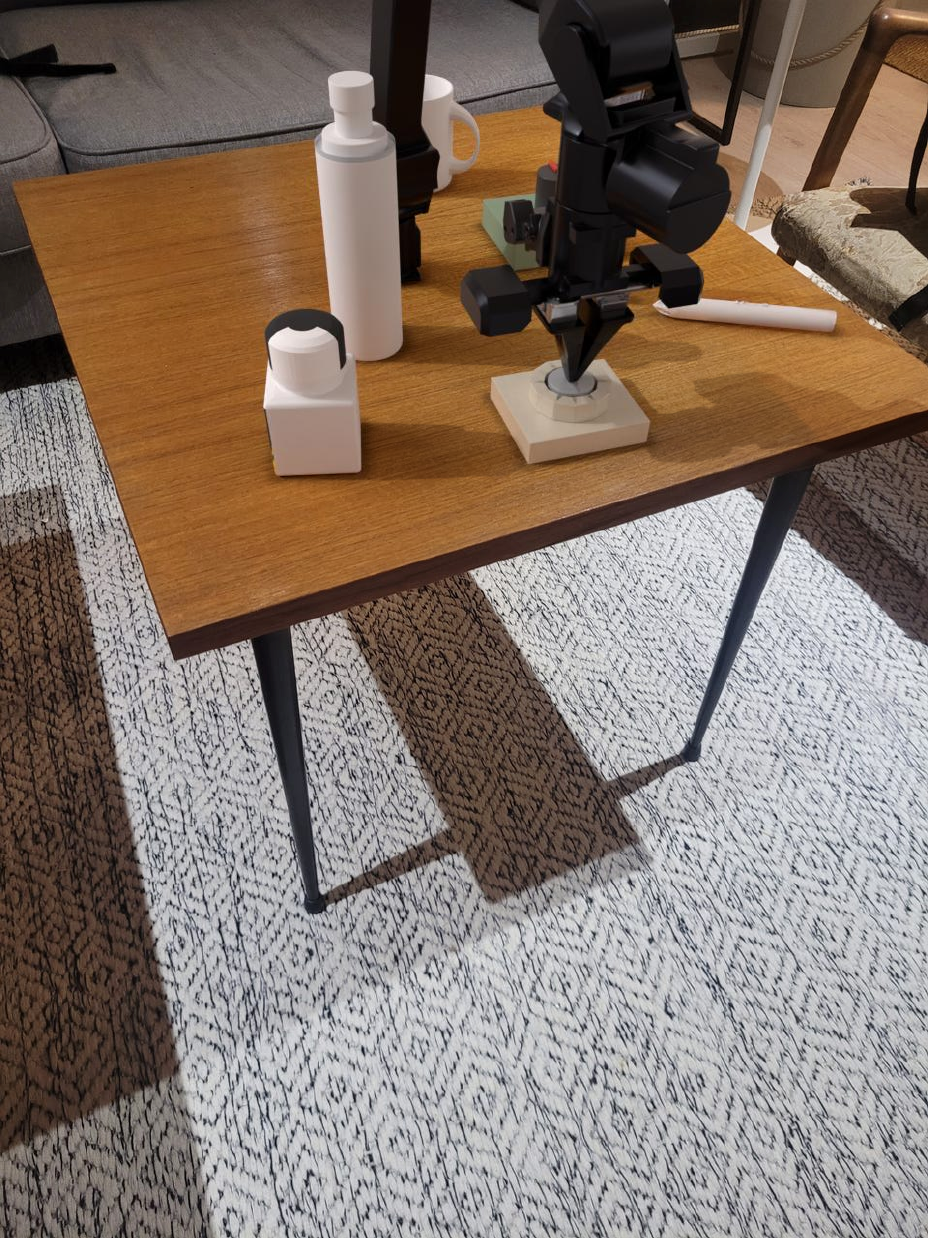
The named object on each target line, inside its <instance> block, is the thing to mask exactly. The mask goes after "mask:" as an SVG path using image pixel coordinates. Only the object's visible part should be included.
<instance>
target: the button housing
mask: <svg viewBox="0 0 928 1238" xmlns="http://www.w3.org/2000/svg"><path fill="white" fill-rule="evenodd" d="M559 368H562V363H561V359H554V360H549V361H545V362H544V363H542V364H541V365H539V366H537V367H536V368H534V369H533V370H528V371H523V372H521V371H520V372H516V373H510V374H504V375H498V376H492V377H491V379H490V399H491V402H492V403H493V405H494V407H495V408H496V410H497V412H498V414H499V416H500V417H501V419H502V421H503V422H504V424H505V426H506V428H507V429H508V432H509V433H510V435H511V437H512V439H513V440H514V441H515V443H516V446H517V447H518V449H519V451H520V452H521V454H522V456H523V457H524V460H525V461H526V463H527V465H531V464H537V463H538V464H539V463H543V462H548V461H552V460H553V461H554V460H557V459H558V460H559V459H564V458H570V457H574V456H579V455H584V454H591V453H596V452H600V451H605V450H610V449H615V448H621V447H626V446H632V445H637V444H642V443H647V440H648V434H649V431H650V425H651V420H650V419H649V417H648V416H647V415H646V413H645V412H644V411H643V410H642V408H641V406H640V405H639V404H638V402H637V401H636V400H635V399H634V397H633V395H632V394H631V393H630V391H629V390H628V389H627V388H626V386H625V385H624V384H623V382H622V381H621V380H620V378H619V377H618V376H617V373H616V372H615V371H614V370H613V369H612V367H611V366H610V365H609V363H608V362H607V360H605V358H600V359H594V360H593V362H592V363H591V364H590V366H589V367H588V368H587V370H586V371H587V372H589V373H590V374H591V375H592V376H593V378H594V381H595V383H594V390H593V392H592V393H590V394H589V395H585V396H579V397H567V396H560V395H558V394H556V393H555V392H553V391H551V390H549V389H548V387H547V385H548V377H549V375H550V373H551V372H553V371H554V370H556V369H559Z"/></svg>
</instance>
